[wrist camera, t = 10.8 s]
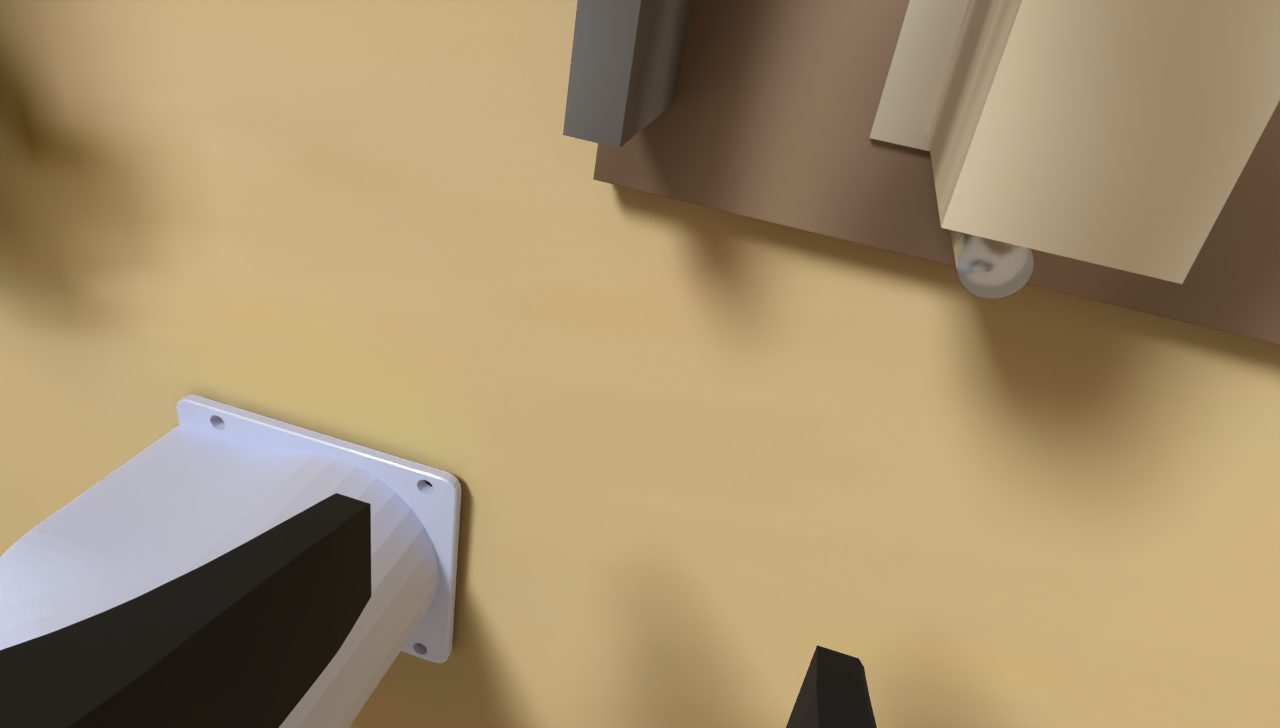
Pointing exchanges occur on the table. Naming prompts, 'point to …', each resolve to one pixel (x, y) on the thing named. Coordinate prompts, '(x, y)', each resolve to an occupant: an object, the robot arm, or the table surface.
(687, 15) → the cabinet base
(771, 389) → the table surface
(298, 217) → the table surface
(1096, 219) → the beige wooden block
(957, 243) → the hinge pins
